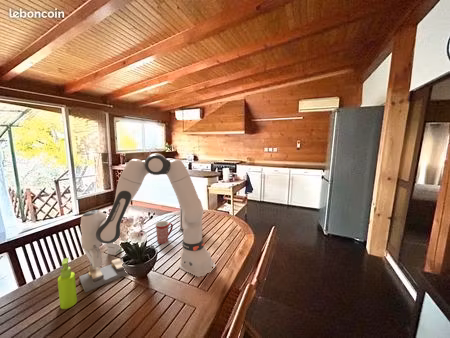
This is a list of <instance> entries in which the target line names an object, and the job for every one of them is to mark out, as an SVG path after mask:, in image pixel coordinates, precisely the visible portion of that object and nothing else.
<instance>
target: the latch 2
mask: <svg viewBox="0 0 450 338" xmlns="http://www.w3.org/2000/svg"><path fill="white" fill-rule="evenodd" d="M121 260H122V259H121V258H120V257H119V258H118V257H117V258H114V259H112V260H111V262H110V264H113V265H114V267H115V268H116V269H117V272H118V271H121V270H123V269H124V268H123V266H122V264H123V262H122V261H121Z"/></svg>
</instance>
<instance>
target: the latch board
mask: <svg viewBox="0 0 450 338" xmlns="http://www.w3.org/2000/svg"><path fill="white" fill-rule="evenodd" d="M120 260H121V261H122V260H123V259H120ZM99 268H100V271H101V273H102V275H104V278H102V279H99V280H97V281H94V282H93V278H92V276H91V273H90V271H88V272H87V273H85V274H84V273H83V274H82V275H79V282H80V284H81V286H82V288H83V291H84V293H88V292H90V291H92V290H94V289H97V288H99V287H102V286H104V285H105V284H109V283H111V282H112V281H115V280H117V279H119V278H122V277H124V276H126V275H128V274H127V273H126V272H125V270H124V269H123V270H121V271H118V272H117V269H116V268H115V267H114V265H113V264H112V263H110V264H108V265H105V266H103V267H99Z"/></svg>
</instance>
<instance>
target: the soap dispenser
mask: <svg viewBox="0 0 450 338" xmlns="http://www.w3.org/2000/svg"><path fill="white" fill-rule="evenodd" d="M69 260H70V259H69V257H64V258H63V259H62V261H61V266H62V268H61V269H60V275H59V276H58V278H57V289H58V299H59V300H58V301H59V307H60V309H61V310H67V309H70V308H72V307H74V305H76V304H77V302H78V298H77V285H76V283H77V282H76V273H75V272H74V271H72V270H71V269H72V268H71V267H70V266H68V263H69Z"/></svg>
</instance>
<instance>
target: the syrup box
mask: <svg viewBox="0 0 450 338" xmlns="http://www.w3.org/2000/svg"><path fill="white" fill-rule="evenodd" d="M106 245H107V246H106V247H107V248H106V249H107V255H112V256H116V255H118V254H119V253H120V252H122V250H123V249H122V246H121V247H120V246H119V245H117V244H113V243H109V244H106Z"/></svg>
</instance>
